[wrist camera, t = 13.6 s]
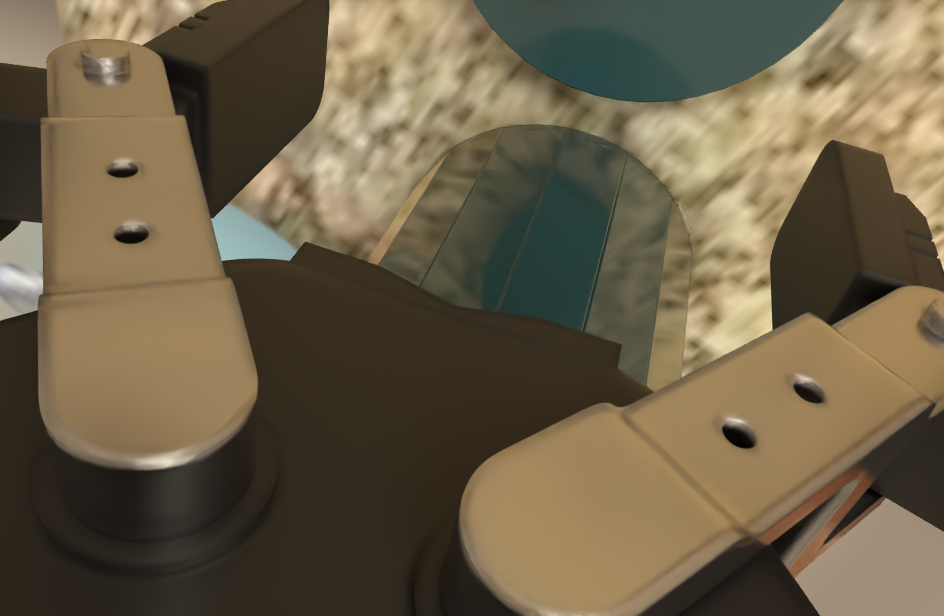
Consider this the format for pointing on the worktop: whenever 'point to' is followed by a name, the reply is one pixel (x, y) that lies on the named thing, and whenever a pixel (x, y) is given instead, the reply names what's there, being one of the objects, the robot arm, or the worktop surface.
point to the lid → (654, 41)
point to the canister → (552, 241)
